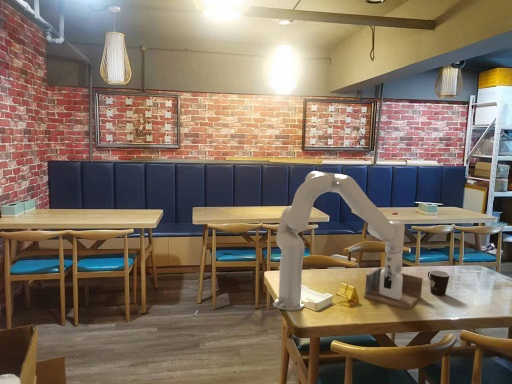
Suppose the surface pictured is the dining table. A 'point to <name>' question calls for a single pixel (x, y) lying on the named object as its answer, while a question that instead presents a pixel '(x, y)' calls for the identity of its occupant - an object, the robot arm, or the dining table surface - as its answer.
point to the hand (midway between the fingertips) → (391, 285)
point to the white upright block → (395, 286)
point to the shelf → (409, 290)
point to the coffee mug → (438, 282)
